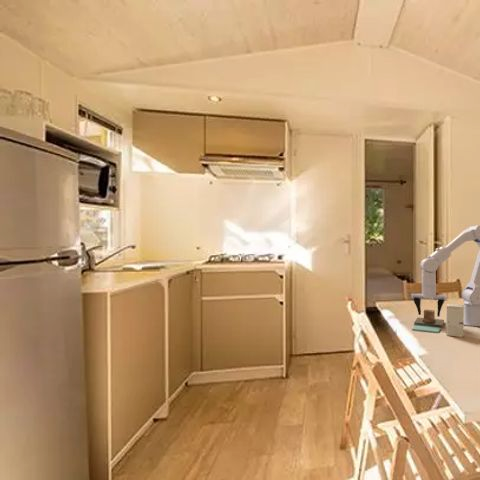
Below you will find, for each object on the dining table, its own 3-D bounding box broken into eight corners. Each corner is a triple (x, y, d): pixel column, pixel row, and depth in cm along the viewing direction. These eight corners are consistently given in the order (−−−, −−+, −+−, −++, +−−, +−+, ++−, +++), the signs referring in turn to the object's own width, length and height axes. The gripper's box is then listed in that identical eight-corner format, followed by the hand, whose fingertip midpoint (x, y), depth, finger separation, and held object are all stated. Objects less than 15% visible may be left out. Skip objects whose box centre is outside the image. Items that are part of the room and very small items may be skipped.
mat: (440, 329, 164) (440, 327, 164) (438, 333, 158) (438, 331, 158) (414, 326, 169) (414, 325, 169) (412, 330, 163) (412, 328, 163)
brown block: (434, 323, 174) (434, 310, 174) (433, 325, 171) (433, 311, 171) (424, 322, 176) (424, 309, 176) (423, 324, 173) (423, 311, 173)
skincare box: (446, 335, 154) (446, 305, 153) (446, 333, 158) (446, 303, 157) (464, 337, 151) (463, 306, 150) (463, 334, 154) (463, 304, 154)
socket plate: (443, 322, 175) (443, 319, 175) (441, 327, 166) (441, 325, 166) (417, 319, 181) (417, 317, 181) (414, 325, 172) (414, 322, 172)
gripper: (447, 285, 173) (447, 315, 173) (412, 283, 180) (412, 312, 181) (446, 287, 167) (446, 318, 167) (410, 285, 174) (410, 315, 175)
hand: (428, 315), depth 173 cm, fingers open, 7 cm apart
